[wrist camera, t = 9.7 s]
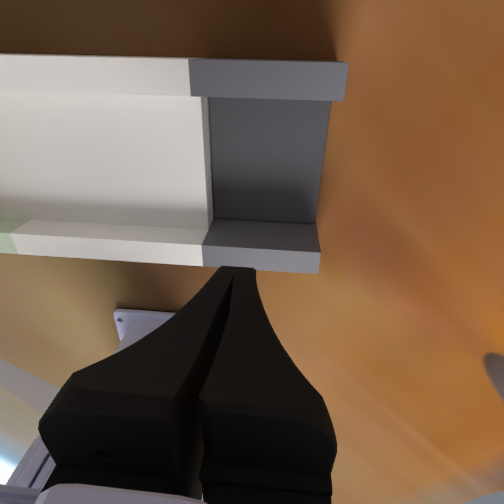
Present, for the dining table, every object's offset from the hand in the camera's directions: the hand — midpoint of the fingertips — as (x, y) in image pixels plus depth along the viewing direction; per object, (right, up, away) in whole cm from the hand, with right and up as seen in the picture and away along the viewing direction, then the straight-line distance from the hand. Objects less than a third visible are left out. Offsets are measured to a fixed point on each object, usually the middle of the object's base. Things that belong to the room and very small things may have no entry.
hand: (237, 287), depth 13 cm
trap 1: (+1, +7, +8) cm, 11 cm away
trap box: (-12, +8, +9) cm, 17 cm away
